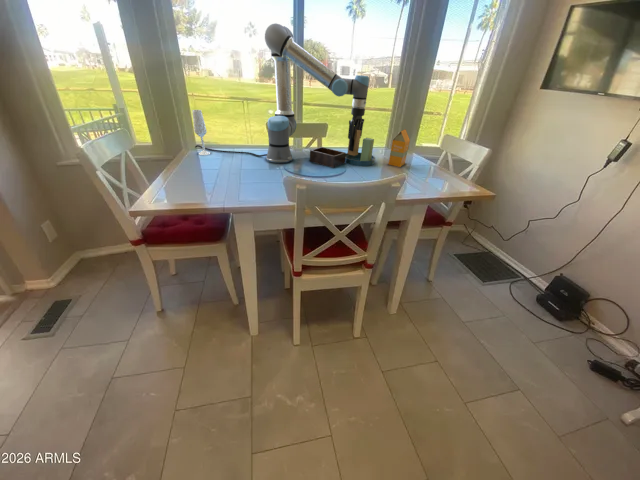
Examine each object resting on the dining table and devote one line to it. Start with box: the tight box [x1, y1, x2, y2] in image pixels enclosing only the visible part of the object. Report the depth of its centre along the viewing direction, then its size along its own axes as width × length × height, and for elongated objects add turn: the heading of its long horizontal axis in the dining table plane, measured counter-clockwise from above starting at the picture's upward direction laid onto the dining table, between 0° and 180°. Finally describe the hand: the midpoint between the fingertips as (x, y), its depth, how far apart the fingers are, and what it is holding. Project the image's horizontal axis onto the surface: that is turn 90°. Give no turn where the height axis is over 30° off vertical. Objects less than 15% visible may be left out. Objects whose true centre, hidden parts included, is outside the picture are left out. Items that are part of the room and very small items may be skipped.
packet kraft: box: [346, 130, 361, 156], centre depth 163 cm, size 5×4×14 cm
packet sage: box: [360, 137, 375, 161], centre depth 160 cm, size 5×4×14 cm
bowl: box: [344, 151, 376, 167], centre depth 165 cm, size 19×19×4 cm
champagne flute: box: [191, 109, 211, 156], centre depth 159 cm, size 7×7×24 cm
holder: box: [309, 146, 347, 169], centre depth 161 cm, size 18×12×7 cm, turn 52°
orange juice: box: [387, 129, 411, 168], centre depth 160 cm, size 8×9×20 cm
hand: (353, 149), depth 165 cm, fingers closed on packet kraft, 4 cm apart
